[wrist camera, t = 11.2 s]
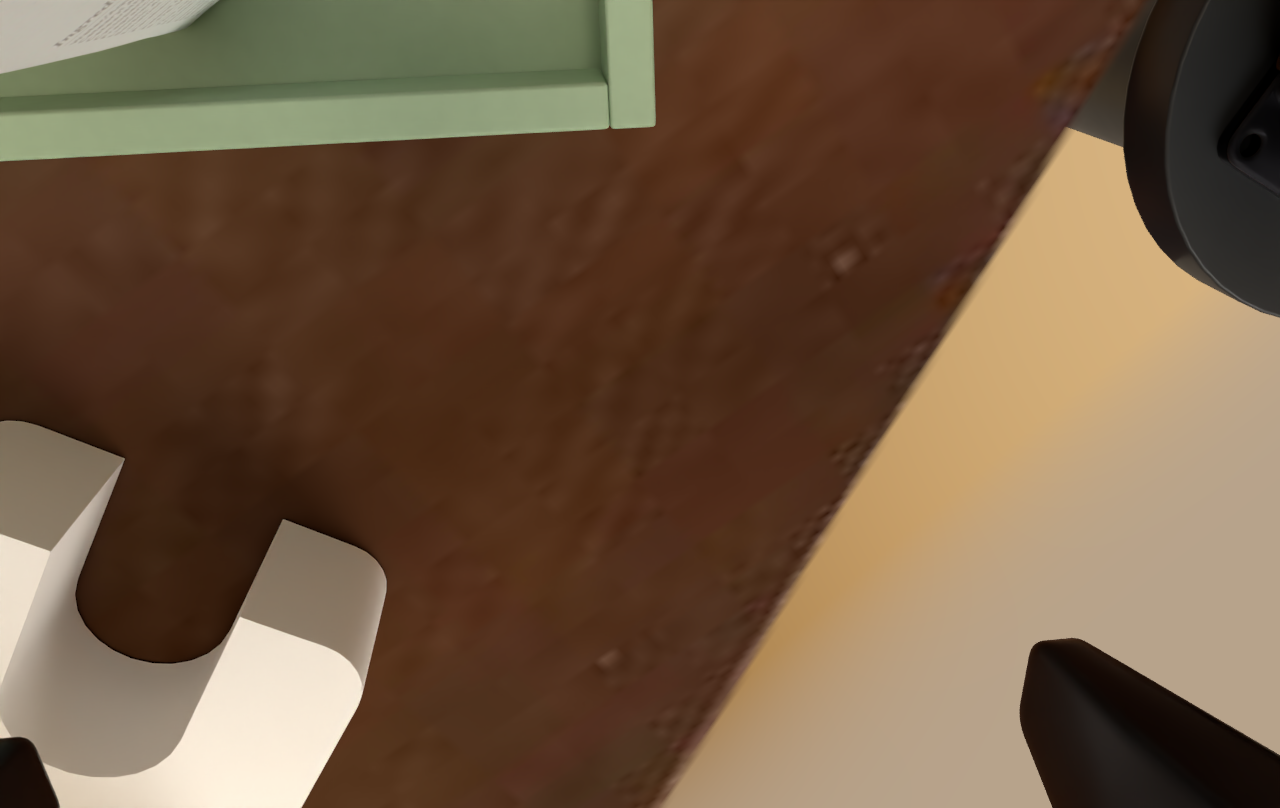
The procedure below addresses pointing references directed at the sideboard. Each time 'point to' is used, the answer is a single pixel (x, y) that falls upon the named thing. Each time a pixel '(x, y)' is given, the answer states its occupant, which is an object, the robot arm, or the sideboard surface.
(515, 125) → the tray
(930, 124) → the sideboard surface
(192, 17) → the small box
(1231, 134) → the robot arm
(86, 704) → the white slotted holder
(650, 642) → the sideboard surface
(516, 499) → the sideboard surface
